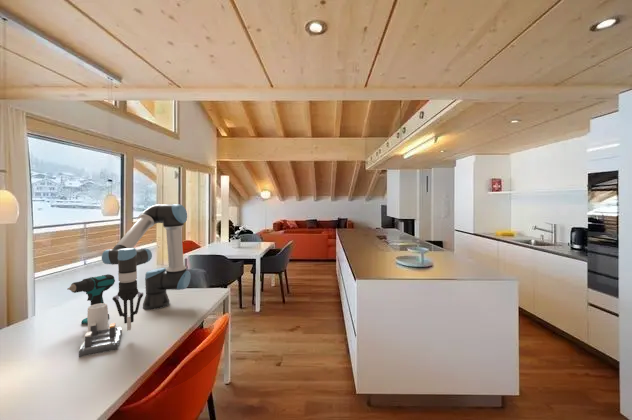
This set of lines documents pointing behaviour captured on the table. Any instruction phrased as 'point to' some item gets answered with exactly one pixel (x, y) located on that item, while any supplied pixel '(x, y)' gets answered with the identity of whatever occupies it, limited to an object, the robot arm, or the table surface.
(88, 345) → the block
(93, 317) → the cup
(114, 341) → the panel
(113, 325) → the block
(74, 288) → the power drill
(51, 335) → the table surface
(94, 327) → the block
